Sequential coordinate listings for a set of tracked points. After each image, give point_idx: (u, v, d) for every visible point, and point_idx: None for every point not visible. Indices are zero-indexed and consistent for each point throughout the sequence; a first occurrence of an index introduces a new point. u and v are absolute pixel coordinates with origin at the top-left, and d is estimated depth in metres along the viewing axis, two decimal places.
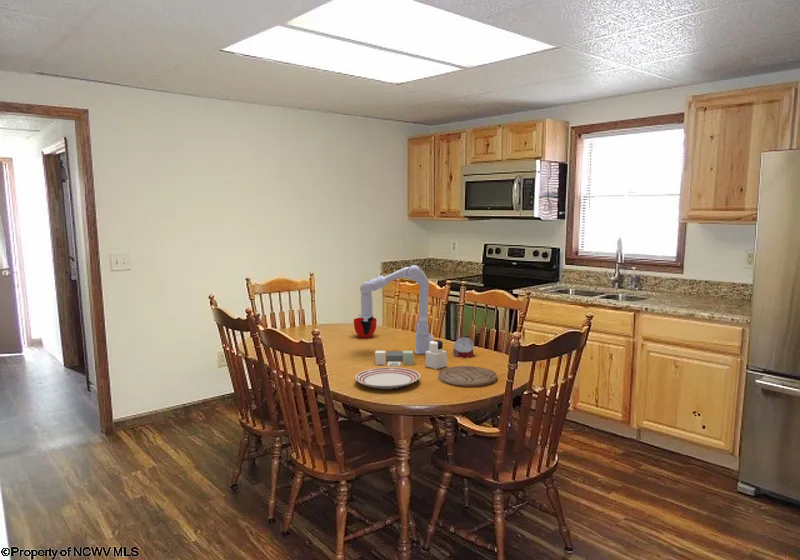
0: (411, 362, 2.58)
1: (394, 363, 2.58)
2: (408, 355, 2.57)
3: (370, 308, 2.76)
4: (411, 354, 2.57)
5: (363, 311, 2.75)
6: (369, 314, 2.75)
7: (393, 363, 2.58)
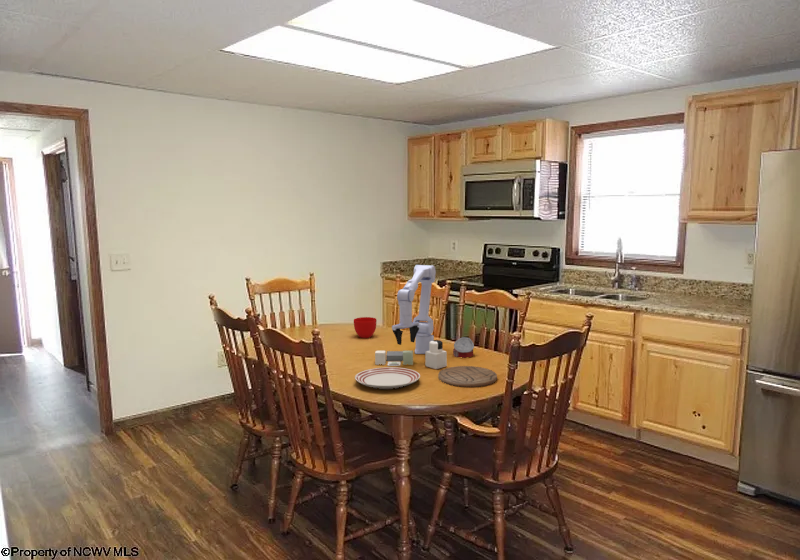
0: (411, 362, 2.58)
1: (394, 363, 2.58)
2: (408, 355, 2.57)
3: (405, 317, 2.55)
4: (411, 354, 2.57)
5: None
6: (403, 323, 2.56)
7: (393, 363, 2.58)
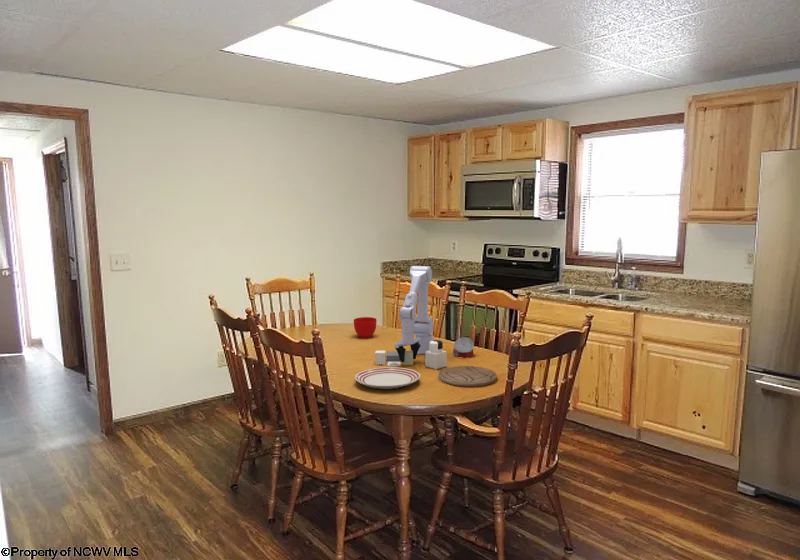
0: (411, 362, 2.58)
1: (394, 363, 2.58)
2: (408, 355, 2.57)
3: (407, 335, 2.55)
4: (411, 354, 2.57)
5: None
6: (406, 341, 2.56)
7: (393, 363, 2.58)
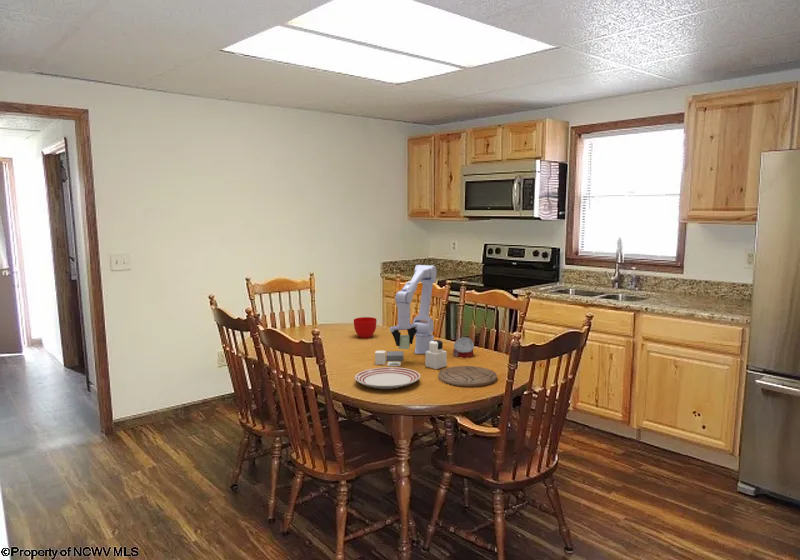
0: (407, 346, 2.59)
1: (394, 363, 2.58)
2: (404, 339, 2.59)
3: (402, 319, 2.57)
4: (406, 338, 2.58)
5: None
6: (401, 325, 2.57)
7: (393, 363, 2.58)
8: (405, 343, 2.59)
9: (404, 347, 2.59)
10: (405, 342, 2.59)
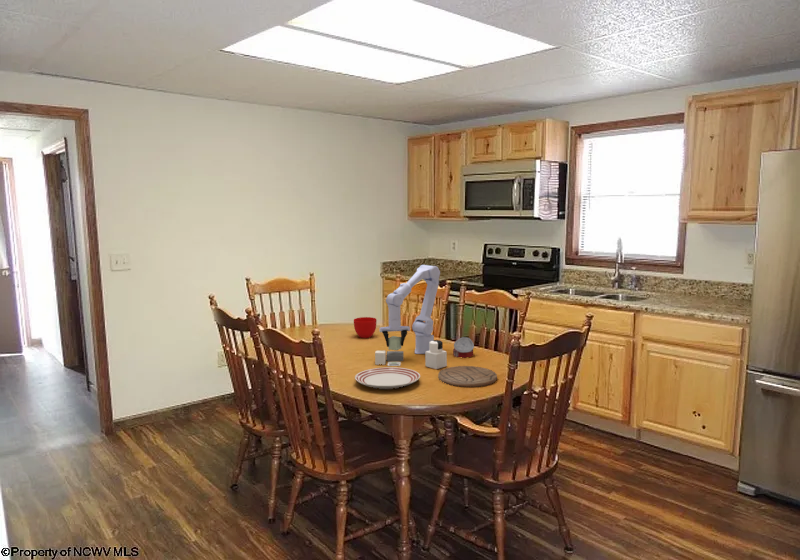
0: (395, 348, 2.64)
1: (394, 363, 2.58)
2: (392, 340, 2.65)
3: (391, 321, 2.63)
4: (395, 340, 2.64)
5: None
6: (390, 326, 2.64)
7: (393, 363, 2.58)
8: (394, 344, 2.65)
9: (393, 348, 2.65)
10: (394, 343, 2.64)
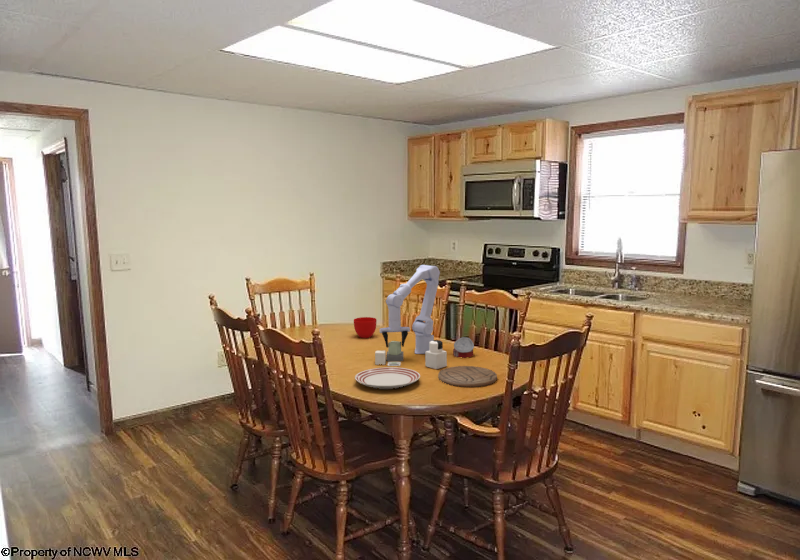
0: (395, 352, 2.65)
1: (394, 363, 2.58)
2: (393, 345, 2.65)
3: (391, 321, 2.63)
4: (395, 345, 2.64)
5: None
6: (390, 327, 2.64)
7: (393, 363, 2.58)
8: (394, 349, 2.65)
9: (393, 353, 2.65)
10: (394, 348, 2.65)
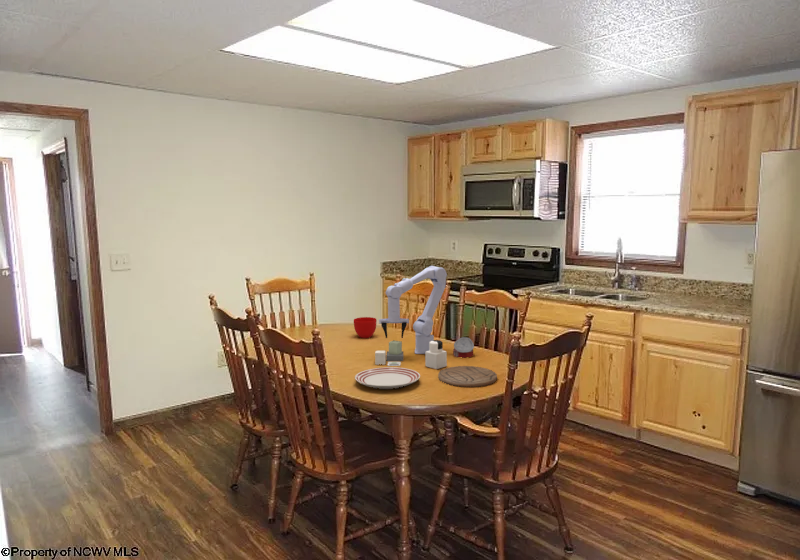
0: (395, 352, 2.65)
1: (394, 363, 2.58)
2: (393, 345, 2.65)
3: (389, 313, 2.67)
4: (395, 344, 2.65)
5: None
6: (389, 318, 2.68)
7: (393, 363, 2.58)
8: (394, 349, 2.65)
9: (393, 352, 2.66)
10: (394, 348, 2.65)
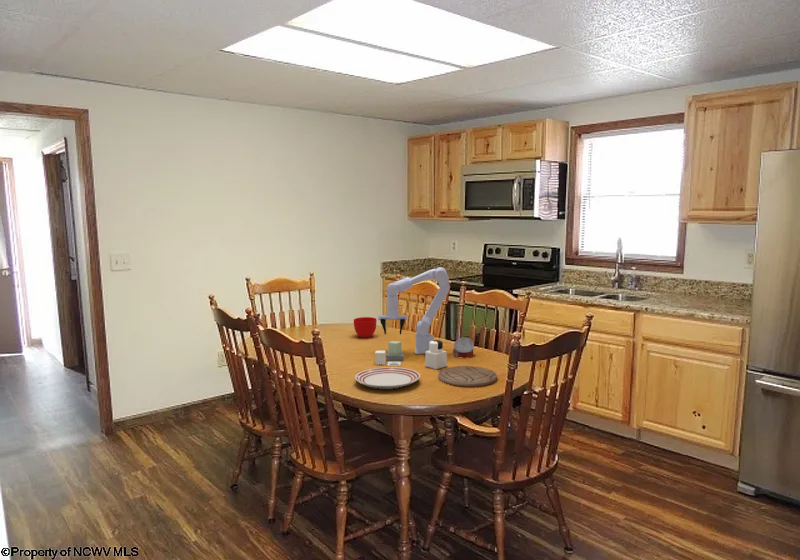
0: (394, 352, 2.65)
1: (394, 363, 2.58)
2: (392, 345, 2.65)
3: (388, 309, 2.75)
4: (394, 344, 2.64)
5: None
6: (387, 315, 2.76)
7: (393, 363, 2.58)
8: (393, 349, 2.65)
9: (392, 353, 2.66)
10: (393, 348, 2.65)
